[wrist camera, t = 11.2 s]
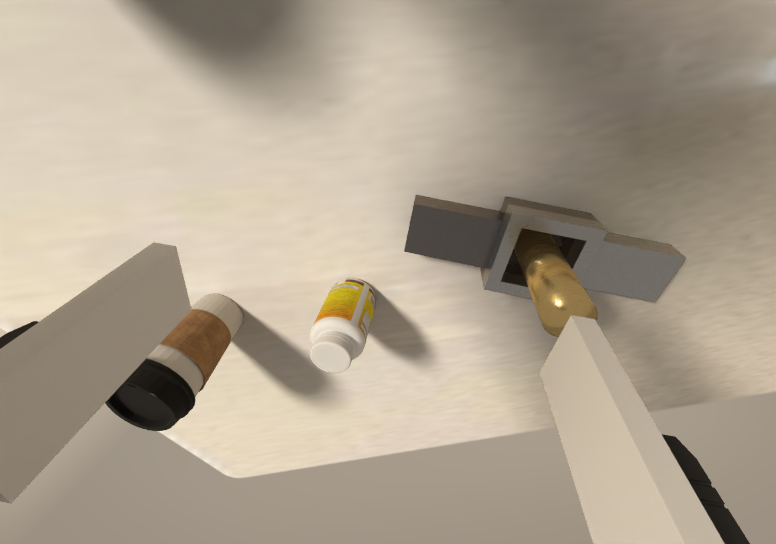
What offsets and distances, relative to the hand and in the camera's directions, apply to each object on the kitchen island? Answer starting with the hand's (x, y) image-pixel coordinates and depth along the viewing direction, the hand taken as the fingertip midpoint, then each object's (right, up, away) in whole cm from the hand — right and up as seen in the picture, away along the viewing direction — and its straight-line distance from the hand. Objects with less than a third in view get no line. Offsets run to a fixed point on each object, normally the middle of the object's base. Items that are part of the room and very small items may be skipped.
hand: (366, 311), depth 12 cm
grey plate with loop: (+15, +4, +23) cm, 28 cm away
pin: (+15, +4, +23) cm, 28 cm away
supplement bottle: (-3, -1, +29) cm, 29 cm away
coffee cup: (-21, -4, +34) cm, 40 cm away
